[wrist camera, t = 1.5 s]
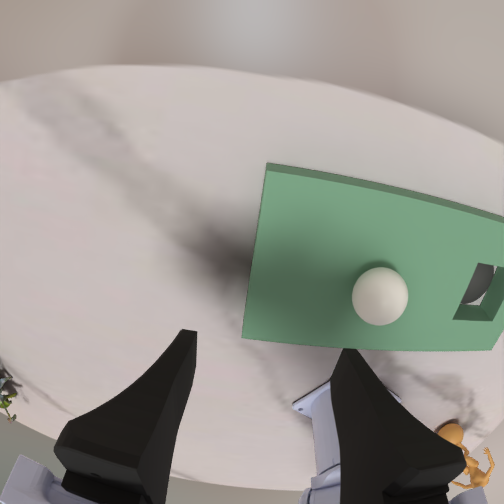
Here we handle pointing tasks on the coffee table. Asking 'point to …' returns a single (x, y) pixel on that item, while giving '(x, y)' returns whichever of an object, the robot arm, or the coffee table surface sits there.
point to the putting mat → (371, 265)
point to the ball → (380, 296)
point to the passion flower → (6, 399)
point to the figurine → (467, 457)
